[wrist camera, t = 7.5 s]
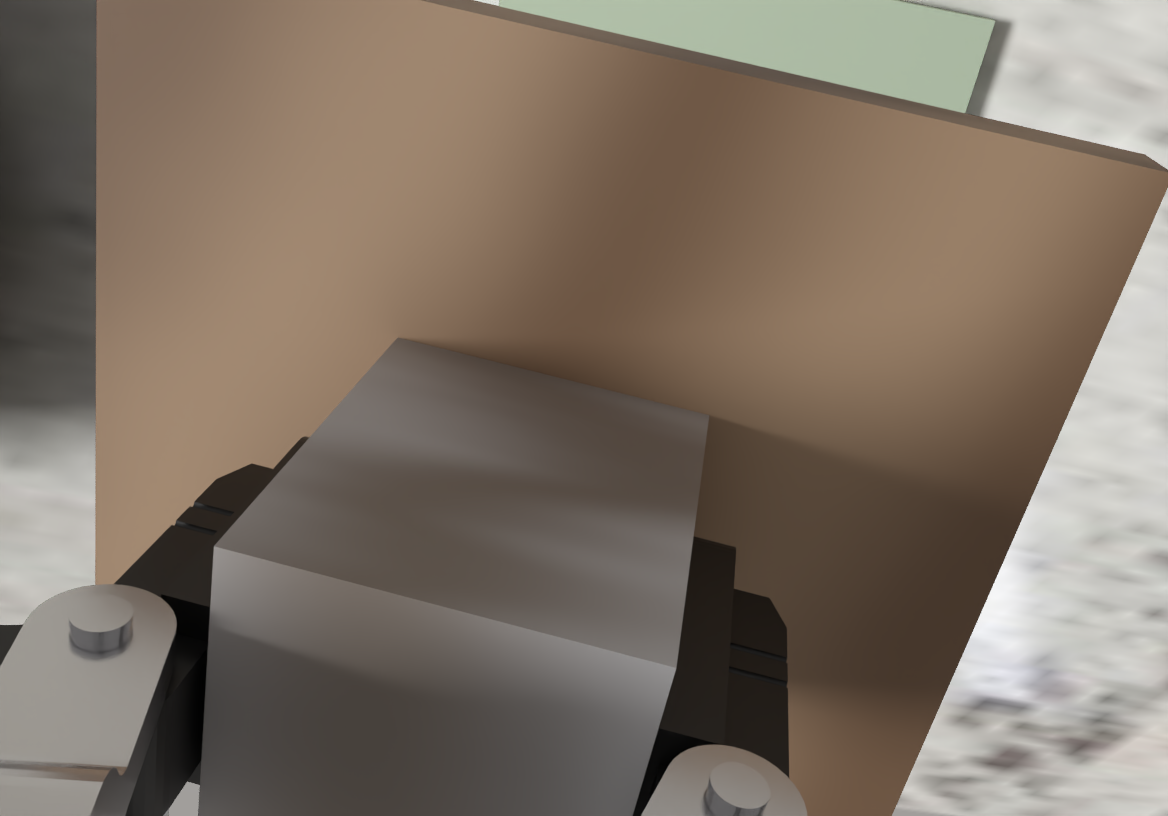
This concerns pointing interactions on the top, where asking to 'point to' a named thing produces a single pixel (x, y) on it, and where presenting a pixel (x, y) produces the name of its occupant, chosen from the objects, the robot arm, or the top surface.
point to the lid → (567, 386)
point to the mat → (808, 39)
